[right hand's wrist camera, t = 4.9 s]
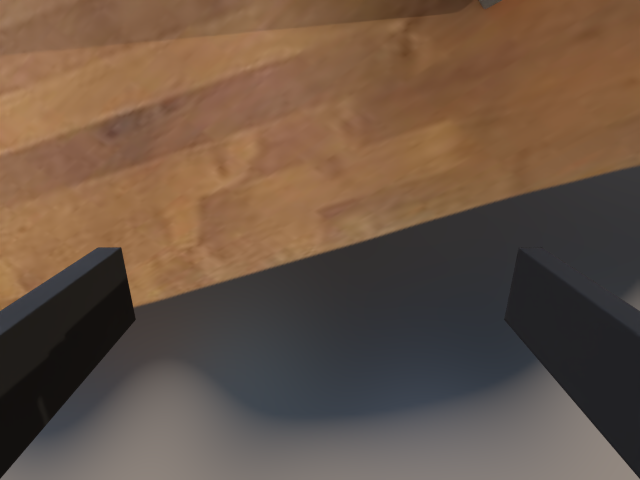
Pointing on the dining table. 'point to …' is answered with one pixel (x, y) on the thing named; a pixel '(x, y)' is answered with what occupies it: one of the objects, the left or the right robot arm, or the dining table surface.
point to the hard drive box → (488, 3)
